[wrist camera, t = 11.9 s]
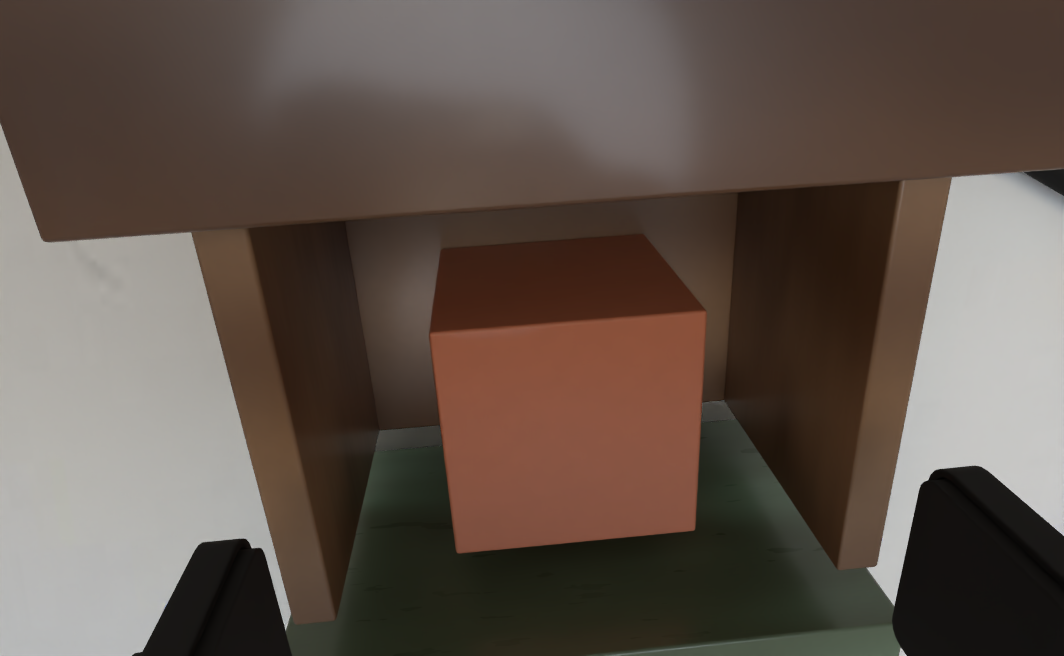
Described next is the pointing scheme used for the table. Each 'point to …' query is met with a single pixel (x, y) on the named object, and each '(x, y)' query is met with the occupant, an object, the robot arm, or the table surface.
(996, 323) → the table surface
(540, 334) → the block
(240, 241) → the drawer
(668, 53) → the cabinet
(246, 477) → the table surface
